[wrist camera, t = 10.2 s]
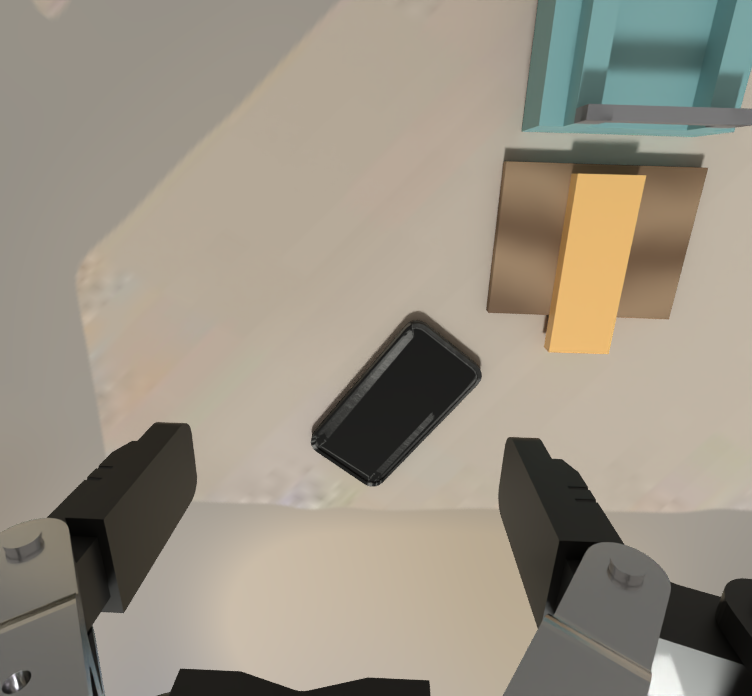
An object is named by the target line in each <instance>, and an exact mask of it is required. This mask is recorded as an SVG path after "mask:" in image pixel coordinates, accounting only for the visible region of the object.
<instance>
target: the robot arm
mask: <svg viewBox="0 0 752 696" xmlns="http://www.w3.org/2000/svg"><path fill="white" fill-rule="evenodd" d="M196 484H197V473H196V465H195V457H194V449H193V441H192V433H191V429H190V426H189V425H188V424H186V423H165V422H156V423H154V424H153V425H152V426H151V427H150V428H149V429H148V430H147V431H146V432H145V434H144V435H143V436H142V437H141V438H140V439H139V440H138V441H131V442H129V443H128V444H126V445H124V446H122V447H121V448H119V449H117V450H115V451H114V452H112V453H111V454H110V455H109V456H108V457H107V458H106V459H105V460H104V461H103V462H102V463H101V464H100V465H99V468H98V469H95V470H94V471H93V472H92V473H91V474H90V475H89V476H88V477H87V480H84V481H83V482H82V483H81V484H80V485H79V486H78V487H77V488H76V489H75V490H74V491H73V492H72V493H71V494H70V495H69V496H68V497H67V498H66V499H65V500H64V501H63V502H62V503H61V504H60V505H59V506H58V507H57V508H56V509H55V510H54V511H53V512H52V513H51V514H50V515H49V516H48V517H47V518H40V519H34V520H29V521H26V522H23V523H20V524H17V525H14V526H12V527H10V528H8V529H6V530H4V531H2V532H0V696H105V691H104V685H103V680H102V674H101V668H100V662H99V656H98V651H97V644H96V638H95V633H94V629H93V623H94V621H95V620H96V619H97V617H98V615H99V614H100V612H114V613H124V612H125V610H126V609H127V607H128V605H129V604H130V602H131V600H132V598H133V597H134V595H135V594H136V592H137V590H138V588H139V587H140V585H141V584H142V582H143V581H144V579H145V577H146V576H147V574H148V572H149V570H150V569H151V567H152V566H153V564H154V562H155V560H156V559H157V557H158V556H159V554H160V552H161V551H162V549H163V547H164V546H165V544H166V543H167V541H168V539H169V538H170V536H171V534H172V532H173V531H174V529H175V528H176V526H177V524H178V523H179V521H180V519H181V518H182V516H183V514H184V513H185V511H186V509H187V508H188V506H189V505H190V503H191V501H192V499H193V497H194V494H195V490H196ZM498 499H499V510H500V514H501V518H502V521H503V524H504V527H505V530H506V533H507V536H508V539H509V542H510V545H511V548H512V551H513V554H514V557H515V560H516V563H517V566H518V569H519V573H520V575H521V579H522V582H523V585H524V588H525V591H526V594H527V597H528V600H529V603H530V606H531V609H532V612H533V615H534V618H535V621H536V624H537V627H538V630H537V632H536V634H535V636H534V638H533V639H532V641H531V643H530V645H529V647H528V649H527V651H526V653H525V655H524V657H523V658H522V660H521V662H520V664H519V666H518V668H517V670H516V672H515V674H514V675H513V678H512V679H511V681H510V683H509V685H508V687H507V689H506V691H505V692H504V694H503V696H752V579H735V580H732V581H730V582H729V583H728V584H727V585H726V586H725V589H724V591H723V593H722V596H721V597H719V596H715V595H712V594H708V593H705V592H701V591H698V590H694V589H691V588H686V587H684V586H680V585H677V584H674V583H672V582H670V580H669V578H668V576H667V574H666V573H665V571H664V570H663V569H662V568H661V567H660V566H659V565H658V564H657V563H656V562H655V561H654V560H653V559H651V558H650V557H649V556H647V555H646V554H644V553H642V552H640V551H639V550H637V549H634V548H632V547H629V546H626V545H624V543H623V542H622V540H621V538H620V537H619V535H618V534H617V532H616V531H615V529H614V527H613V526H612V524H611V523H610V521H609V520H608V518H607V516H606V515H605V513H604V512H603V510H602V509H601V507H600V505H599V504H598V503H596V499H595V498H594V496H593V494H592V493H591V491H590V490H588V487H587V485H586V483H585V482H584V480H583V479H582V477H581V476H580V474H579V472H577V471H576V470H575V469H574V468H572V467H571V466H570V465H568V464H567V463H566V462H565V461H563V460H562V459H552V458H551V457H550V455H549V453H548V451H547V450H546V448H545V446H544V444H543V443H542V441H541V440H540V439H539V438H519V437H509V438H508V439H507V441H506V444H505V450H504V457H503V464H502V471H501V477H500V484H499V494H498ZM158 696H430V684H429V681H428V680H407V679H386V678H364V679H359V680H355V681H350V682H346V683H341V684H337V685H332V686H327V687H323V688H318V689H314V690H309V691H297V690H293V689H290V688H287V687H284V686H282V685H279V684H276V683H272V682H270V681H267V680H264V679H261V678H258V677H255V676H252V675H250V674H246V673H243V672H239V671H219V670H197V669H180V671H179V673H178V675H177V677H176V680H175V682H174V685H173V687H172V689H171V692H169V693H164V694H161V695H158Z"/></svg>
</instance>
